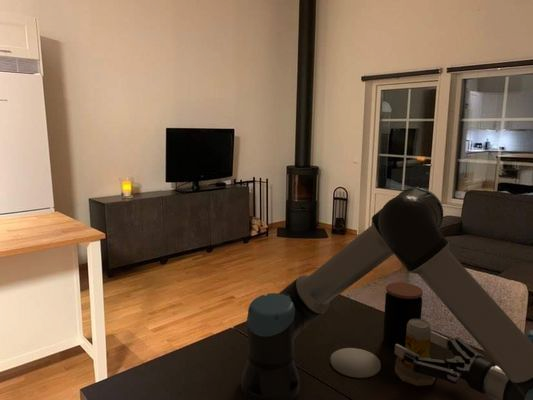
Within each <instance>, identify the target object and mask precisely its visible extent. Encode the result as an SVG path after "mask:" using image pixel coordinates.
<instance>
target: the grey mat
mask: <svg viewBox="0 0 533 400" xmlns="http://www.w3.org/2000/svg"><path fill="white" fill-rule="evenodd" d="M330 364H331V367H332V368H333V369H334V370H335V371H337V372H338V373H339V374H341V375H344V376H345V377H350V378H354V379H355V378H356V379H366V378H371V377H374V376H376V375H377V374H378V373H379V372H380V371H381V368H382V367H381V366H382V364H381V361H380V359H379V358H378V357H377V356H376V355H375V354H374V353H372V352H370V351H367V350H365V349H362V348H354V347H345V348H340V349H337V350H335V351H334V352H333V353H332V354H331V356H330Z"/></svg>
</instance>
